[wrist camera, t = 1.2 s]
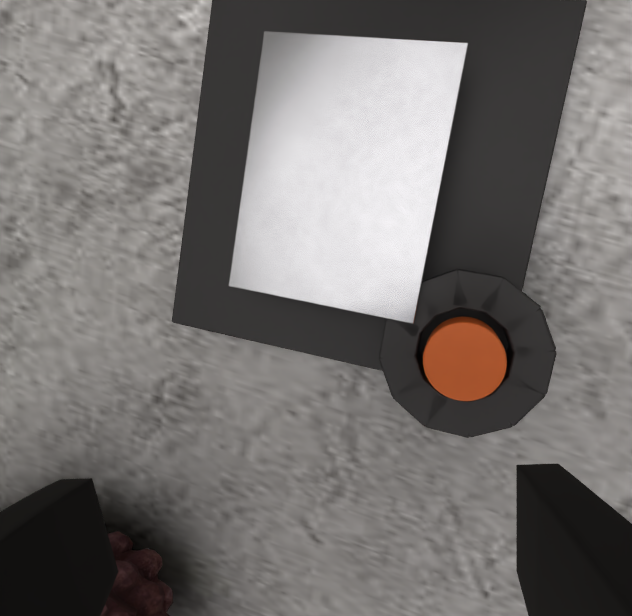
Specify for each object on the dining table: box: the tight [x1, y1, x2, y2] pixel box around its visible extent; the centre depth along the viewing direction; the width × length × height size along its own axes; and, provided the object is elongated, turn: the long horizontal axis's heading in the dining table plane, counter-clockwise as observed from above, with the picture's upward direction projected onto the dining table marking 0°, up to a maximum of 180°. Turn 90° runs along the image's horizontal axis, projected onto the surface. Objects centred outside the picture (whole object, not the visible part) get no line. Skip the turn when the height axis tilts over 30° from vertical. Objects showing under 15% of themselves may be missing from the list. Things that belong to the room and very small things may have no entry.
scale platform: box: [228, 31, 469, 324], centre depth 16 cm, size 7×9×1 cm
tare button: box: [423, 317, 507, 401], centre depth 15 cm, size 2×2×2 cm
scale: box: [172, 0, 587, 438], centre depth 17 cm, size 14×14×2 cm
